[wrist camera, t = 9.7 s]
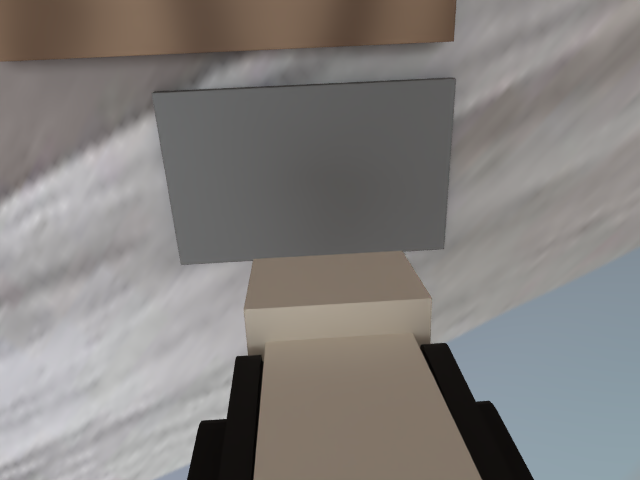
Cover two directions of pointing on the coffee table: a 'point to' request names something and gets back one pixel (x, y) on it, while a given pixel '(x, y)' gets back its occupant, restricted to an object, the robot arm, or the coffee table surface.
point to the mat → (307, 168)
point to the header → (212, 26)
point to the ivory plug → (348, 372)
